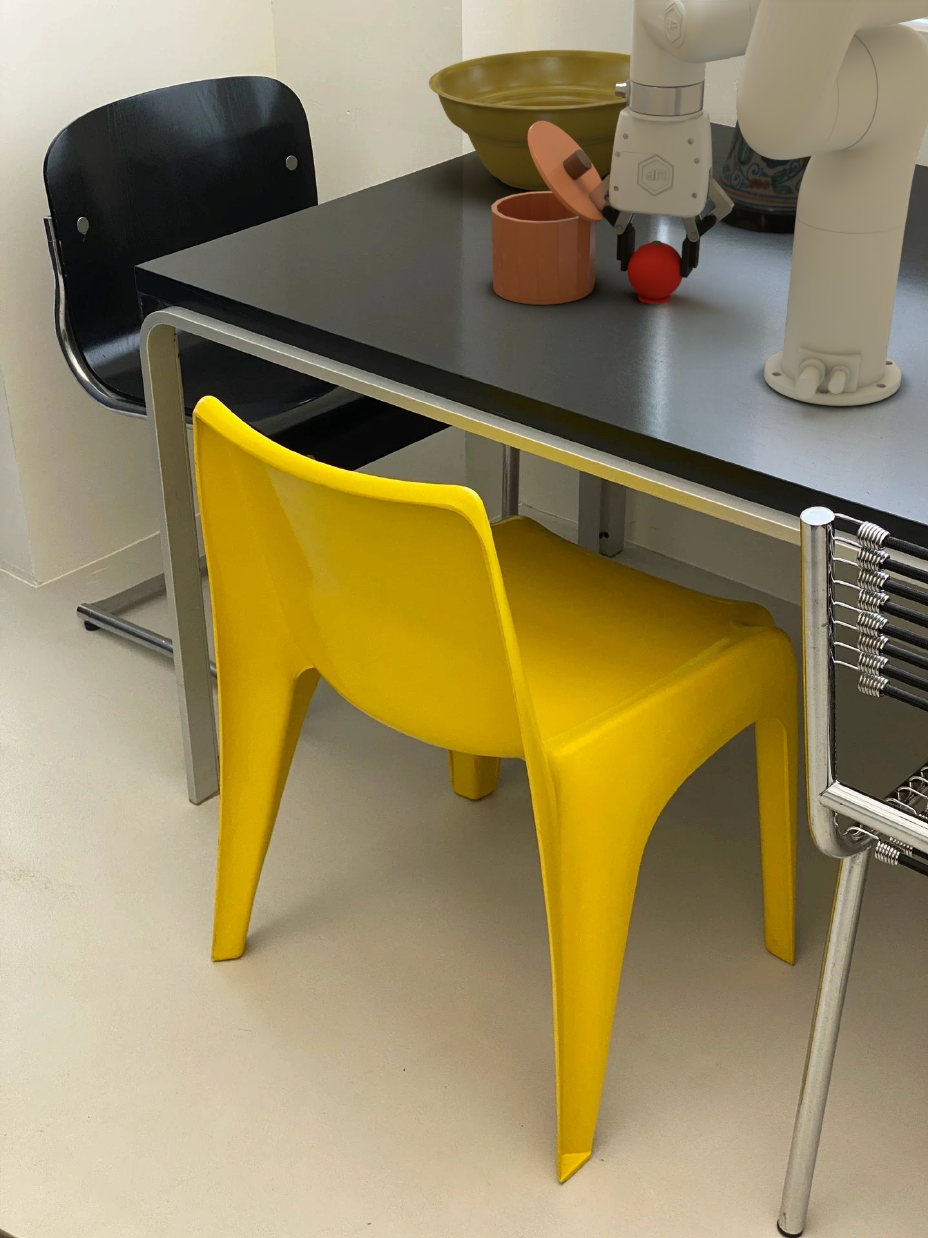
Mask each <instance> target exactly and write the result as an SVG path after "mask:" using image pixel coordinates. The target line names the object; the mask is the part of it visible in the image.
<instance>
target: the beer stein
mask: <svg viewBox="0 0 928 1238" xmlns="http://www.w3.org/2000/svg"><path fill="white" fill-rule="evenodd" d="M810 159H811V156H808V157H802V158H797V159H789V160H776V159H770V158H767V157H764V156H762V155H760V154H758V153H757V152H756V151H754V150H753V149H752V148H751V147H750V146H749V145H748V143H747V142H746V140H745V139H744V137H743V135H742V133H741V130H740V127H739V123H738V118H736V122H735V126H734V131H733V134H732V137H731V142H730V146H729V149H728V152H727V156H726V158H725V161H724V164H723V166H722V169H721V171H720V173H719V175H718V176H717V178H716V179H715V181H716V182H717V183H718V184H719V185H720V187H721V188H722V189H723V190H724V192H725V193H726V194H727V195H728V197H729V198H730V199H731V200H732V201H733V203H734V208H733V209H732V211H731V212H730V213H729V214H728V215H726V216H725V217H724V218H723V219H722V220H723V221H725V222H726V223H729V224H730V225H732V226H734V227H739V228H743V229H747V230H751V231H756V232H765V233H778V234H779V233H780V234H784V233H785V234H786V233H787V234H788V233H789V234H790V233H794V232H795V222H796V212H797V202H798V195H799V190H800V186H801V182H802V179H803V176H804V173H805V170H806V168H807V165H808V163H809V161H810Z"/></svg>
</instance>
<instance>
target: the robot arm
mask: <svg viewBox="0 0 928 1238" xmlns="http://www.w3.org/2000/svg"><path fill="white" fill-rule="evenodd" d="M631 6H632V7H631V28H630V29H631V30H630V53H629V55H630V78H629V79H628V81H627V82H624V83H616V87H615V95H616V96H621V97H622V98H625V99H626V101H627V106H628V107H626V108H624V109H623V110H621V111H620V115H619V119H618V123H617V128H616V133H615V140H614V146H613V155H612V163H611V171H610V172H609V173H608V174H607V175H606V176H605V178H604V179H603V180H601V181H602V182H601V183H600V184H599V185H598V186H597V187H596V188H595V189H594V190H593V191H592V192H591V193H590V194H589V198H590V199H591V201H592V202H593V203H594V205H595V206H596V207H597V208H598V209H599V210H600V211H601V212H602V215H603V216H604V219H605V220H606V221H607V222H608V224H610V226H611V227H612V228H613V232H614V233H615V234H616V261H620V268H619V269H620V272H627V270H628V264H629V261H630V258H631V257H632V255H633V254H634V252H635V251H636V248H635V247H636V228H635V226H633V223H632V222H633V220H634V218H635V215H636V214H641V215H649V216H651V215H652V216H659V217H660V216H662V217H672V218H681V220H682V224H683V226H684V230H685V238H684V240H683V241H682V243H681V255H680V256H681V272H680V276H682V279H683V278H684V279H688V277H689V276H690V275H691V273H692V271H693V270H694V269H697V268H698V266H699V262H700V261H699V260H700V250H701V249H700V247H701V237H703V236H704V235H705V234H706V233H707V232H708V231H710V230H711V229H712V228H713V227H714V226H716V224H717V223H718V222H721V221H722V220H723V218H724V217H725V216H726V215H728V214H729V213H730V212H731V211H732V209H733V208H734V203H733V201H732V200H731V199H730V198H729V197H728V195H727V194H726V193H725V192H724V190H723V189H722V188H721V187H720V185H719V184H718V183H717V182H716V179H715V178H714V177H713V146H712V145H713V143H712V142H713V141H712V140H713V139H712V127H711V119H710V112H709V111H708V110H707V109H704V99H705V98H704V97H705V83H706V67H707V63H711V62H718V61H722V60H729V59H731V58H737V57H743V56H744V57H743V60H742V65H741V68H740V72H739V77H738V82H737V88H736V100H735V101H736V102H735V106H736V107H735V109H736V117H737V118H738V123H739V127H740V130H741V133H742V135H743V137H744V139H745V140H746V142H747V143H748V145H749V146H750V147H751V148H752V149H753V150H754V151H756V152H757V153H758V154H760V155H762V156H764V157H767V158H770V159H776V160H789V159H797V158H802V157H808V156H811V159H810V161H809V163H808V165H807V168H806V170H805V173H804V176H803V179H802V182H801V186H800V190H799V195H798V202H797V212H796V222H795V232H793V233H794V234H793V244H792V245H793V246H792V252H791V253H792V255H791V264H790V274H789V275H790V276H789V285H788V295H787V296H788V297H787V303H786V305H787V306H786V314H785V315H786V316H785V327H784V337H783V347H782V349H781V350H778V351H777V352H775V353H774V354H772V355H770V357H768V359H766V361H765V363H764V367H763V368H764V369H763V378H764V381H765V382H766V383H767V385H768V386H770V388H772V389H773V390H775V391H776V392H777V393H779V394H782V395H783V396H785V397H788V398H790V399H793V400H797V401H800V402H804V403H809V404H814V405H822V406H834V407H835V406H836V407H847V406H860V405H868V404H871V403H876V402H879V401H882V400H884V399H887V398H889V397H890V396H893V394H895V393H896V392H897V391H898V390H899V389H900V386H901V382H902V370H901V368H900V367H899V365H898V364H897V363H896V362H895V361H894V360H893V359H891V358H890V357H888V349H889V342H890V336H891V330H892V322H893V315H894V309H895V300H896V294H897V287H898V286H897V285H898V280H899V279H898V278H899V273H900V272H899V271H900V266H901V265H900V264H901V258H902V251H903V243H904V236H905V229H906V222H907V218H908V210H909V204H910V197H911V192H912V191H911V190H912V186H913V179H914V174H915V170H916V169H915V168H916V164H917V161H918V156H919V152H920V149H921V146H922V142H923V138H924V136H925V134H926V130H927V127H928V40H927V38H925V36H923V34H921V33H920V32H919V31H917V30H916V29H914V28H912V27H910V26H908V25H905V24H901V23H907V22H912V21H916V20H921V19H923V18H926V17H928V0H632V4H631ZM737 118H736V119H737ZM710 200H711V202H712V203H713V204H714V206H715V207H714V209H712V210H711V211H710V212H708V213H707V214H706V215H705V216H704V217H702V214H701V212H702V211H704V209H705V207H706V205H707V204H708V203H709V201H710Z"/></svg>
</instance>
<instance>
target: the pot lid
mask: <svg viewBox="0 0 928 1238" xmlns="http://www.w3.org/2000/svg"><path fill="white" fill-rule="evenodd" d="M528 145H529V150H530V153H531V156H532V159H533V161H534V163H535V165H536V167H537V170H538V171H539V173H540V175H541V177H542V178H543V180H544V181H545V183H546V184H547V186H548V187H549V189H550V190H551V191H552V192H553V194H554V195H555V196H556V197H557V198H558V200H559V201H560V202H561V203H562V204H563V205H564V206H565V207H566V208H568V209H569V210H570V211H571V212H572V213H574V214H575V215H577V216H578V217H580V218H581V219H583V220H586V221H589V222H596V223H598V222H601V221H602V220H603V219H605V217H604V216H603V215H602V212H601V211H600V210H599V209H598V208H597V207H596V206H595V205H594V203H593V202H592V201H591V199H590V198H589V194H590V193H591V192H592V191H593V190H594V189H595V188H596V187H597V186H598V185H599V184H600V183H601V182H602V181H603V180H602V178H601V179H600V177H599V175H598V173H597V171H596V169H595V167H594V166H593V164H592V162H591V161H590V159H589V157H588V156H587V155H586V153H585V152H584V151H583V150H582V149H581V148H580V146H579V145H578V144H577V143H576V142H575V141H574V140H573V139H572V138H571V137H570V136H569V135H568V134H567V133H565V132H564V131H563V130H562V129H560V128H559V127H557V126H555V125H554V124H552V123H549V122H546V121H538V122H536V123H534V124H533V125H532V126H531V127H530V129H529V131H528Z"/></svg>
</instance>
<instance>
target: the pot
mask: <svg viewBox="0 0 928 1238" xmlns="http://www.w3.org/2000/svg"><path fill="white" fill-rule="evenodd" d="M490 209H491V210H490V211H491V214H490V215H491V217H490V218H491V257H492V258H491V259H492V261H491V262H492V287H493V291H494V293H495V294H496V295H497V296H499V297H501V298H502V299H504V300H507V301H510V302H513V303H519V304H524V305H536V306H537V305H538V306H539V305H540V306H541V305H543V306H544V305H546V306H547V305H557V304H558V305H559V304H567V303H570V302H575V301H577V300H580V299H583V298H585V297H587V296H588V295H590V294H591V293H592V292H593V291H594V288H595V284H596V246H597V245H596V244H597V239H596V238H597V237H596V236H597V222H589V221H586V220H583V219H581V218H580V217H578V216H577V215H575V214H574V213H572V212H571V211H570V210H569V209H568V208H566V207H565V206H564V205H563V204H562V203H561V202H560V201H559V200H558V198H557V197H556V196H555V195H554V194H553V192H552V191H527V192H520V193H514V194H510V195H508V196H505V197H502V198H500V199H497V200H496V201H495V202H493V204H491V207H490Z"/></svg>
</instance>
